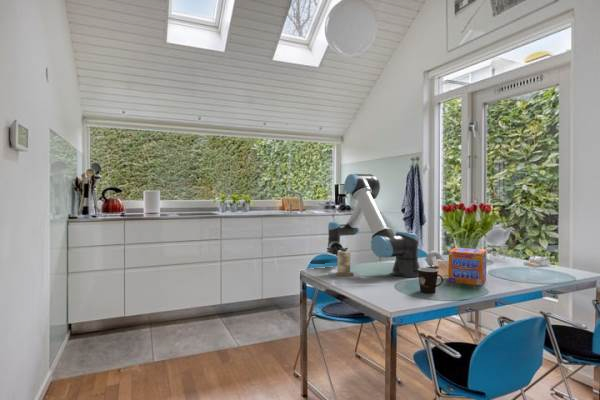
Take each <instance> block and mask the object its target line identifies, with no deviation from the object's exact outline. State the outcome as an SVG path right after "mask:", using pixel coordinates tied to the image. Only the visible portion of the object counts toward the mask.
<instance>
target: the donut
mask: <svg viewBox="0 0 600 400" xmlns="http://www.w3.org/2000/svg"><path fill="white" fill-rule="evenodd" d="M433 257H435V261H436V260H437V259H442V260H443V256H442V254H441V253H440V252H439V251H437V250H431V251H429V252H428V253H427V255H426V257H425V260H426V264H427V265H428V266H429V267H431V268H433V267H432V265H433V262H434V261H433Z"/></svg>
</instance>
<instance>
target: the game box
mask: <svg viewBox="0 0 600 400" xmlns="http://www.w3.org/2000/svg"><path fill="white" fill-rule="evenodd" d="M447 273H448V275H447V276H448V277H447V278H448V280H447V281H448V283H449V282H450V283H457V284H458V283H459V284H466V285H471V286H472V285H473V286H479V287H480V286H481V287H482V286H483V285H484V284H485V282H486V281H487V249H481V248H469V247H467V248H465V247H453V248H452V249H450V250H448V271H447Z"/></svg>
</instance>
